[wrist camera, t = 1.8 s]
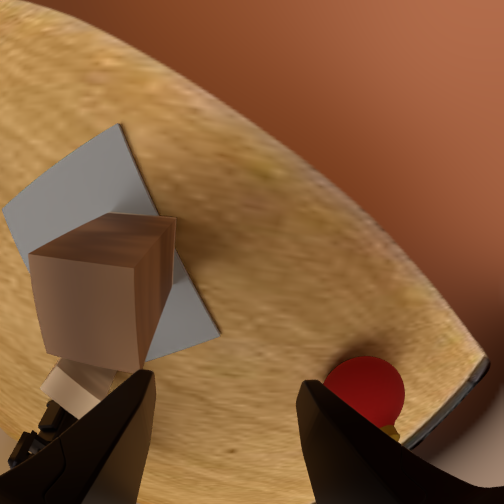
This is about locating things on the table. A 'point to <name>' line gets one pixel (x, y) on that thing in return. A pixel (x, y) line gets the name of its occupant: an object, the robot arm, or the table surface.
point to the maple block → (77, 385)
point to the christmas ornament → (370, 390)
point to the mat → (95, 205)
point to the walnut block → (104, 288)
